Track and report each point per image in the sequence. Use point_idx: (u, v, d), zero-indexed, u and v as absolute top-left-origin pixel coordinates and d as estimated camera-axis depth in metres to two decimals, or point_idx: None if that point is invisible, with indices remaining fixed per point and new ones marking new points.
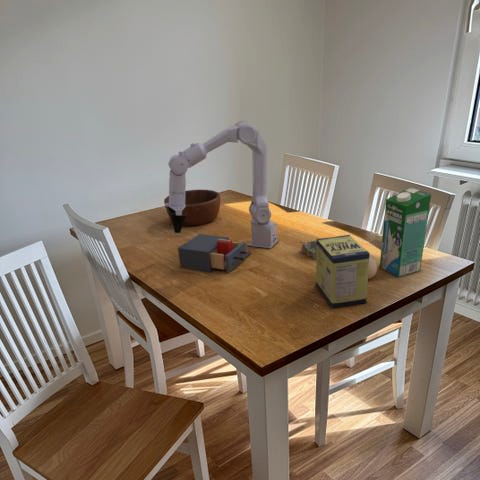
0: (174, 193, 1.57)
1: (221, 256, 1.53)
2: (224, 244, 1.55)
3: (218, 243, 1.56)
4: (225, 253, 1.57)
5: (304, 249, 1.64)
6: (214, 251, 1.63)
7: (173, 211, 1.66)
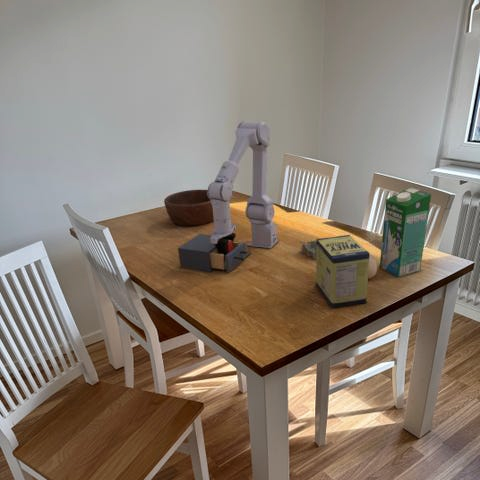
0: (215, 220, 1.51)
1: (221, 256, 1.53)
2: None
3: None
4: None
5: (304, 249, 1.64)
6: (214, 251, 1.63)
7: (224, 238, 1.58)
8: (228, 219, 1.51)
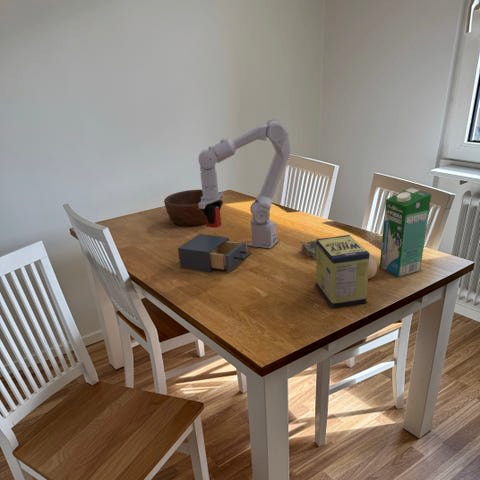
0: (203, 187, 1.62)
1: (221, 256, 1.53)
2: None
3: None
4: None
5: (304, 249, 1.64)
6: (214, 251, 1.63)
7: (212, 205, 1.69)
8: (215, 186, 1.61)
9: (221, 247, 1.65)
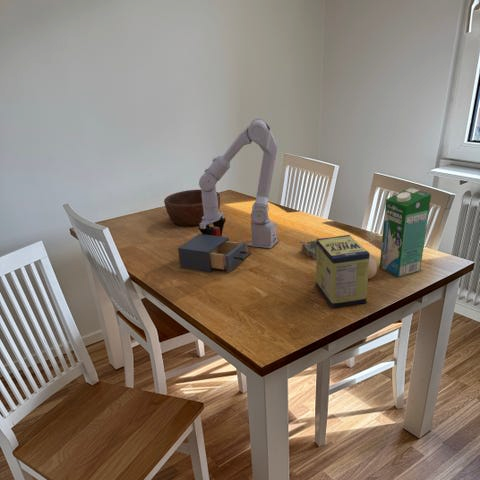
0: (204, 208, 1.69)
1: (221, 256, 1.53)
2: None
3: None
4: None
5: (304, 249, 1.64)
6: (214, 251, 1.63)
7: (216, 223, 1.77)
8: (216, 207, 1.68)
9: (221, 247, 1.65)
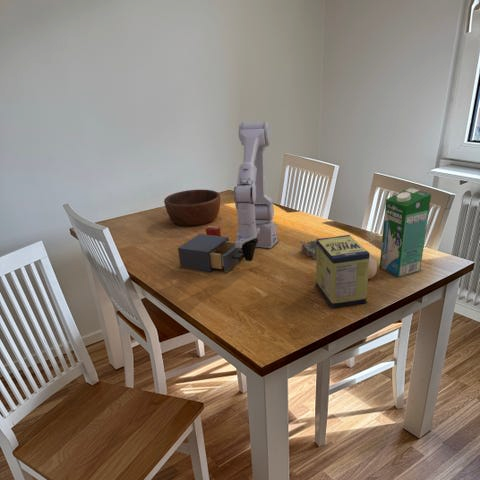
0: (239, 224, 1.47)
1: (219, 256, 1.53)
2: (212, 230, 1.73)
3: (207, 230, 1.74)
4: None
5: (304, 249, 1.64)
6: (212, 251, 1.64)
7: None
8: (253, 223, 1.47)
9: (219, 247, 1.65)
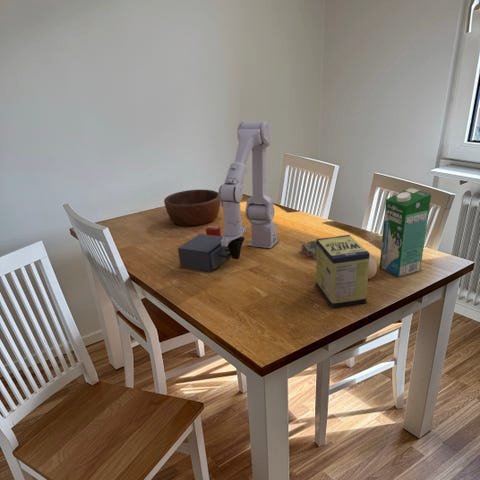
0: (225, 222, 1.49)
1: None
2: (212, 230, 1.73)
3: (207, 230, 1.74)
4: None
5: (304, 249, 1.64)
6: None
7: None
8: (239, 221, 1.49)
9: None
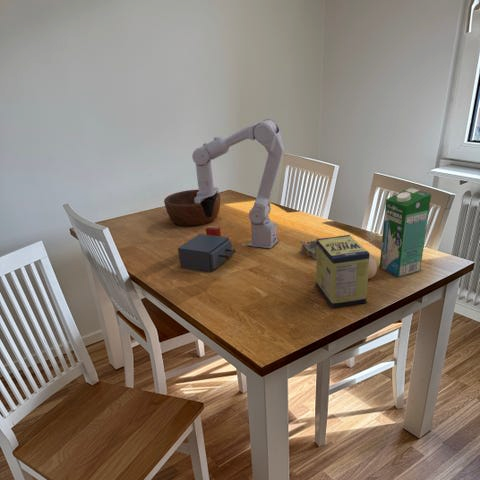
0: (199, 182, 1.68)
1: None
2: (212, 230, 1.73)
3: (207, 230, 1.74)
4: None
5: (304, 249, 1.64)
6: None
7: (206, 201, 1.74)
8: (210, 181, 1.68)
9: None
